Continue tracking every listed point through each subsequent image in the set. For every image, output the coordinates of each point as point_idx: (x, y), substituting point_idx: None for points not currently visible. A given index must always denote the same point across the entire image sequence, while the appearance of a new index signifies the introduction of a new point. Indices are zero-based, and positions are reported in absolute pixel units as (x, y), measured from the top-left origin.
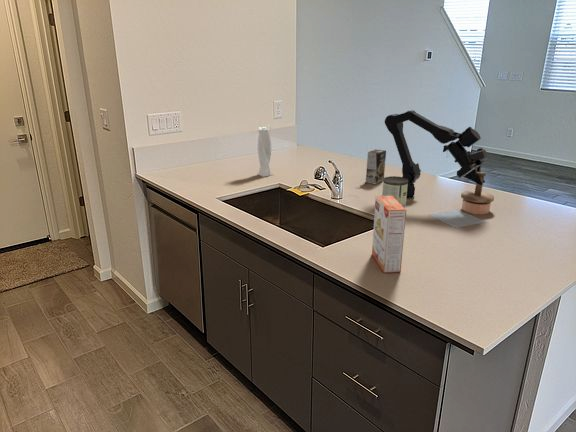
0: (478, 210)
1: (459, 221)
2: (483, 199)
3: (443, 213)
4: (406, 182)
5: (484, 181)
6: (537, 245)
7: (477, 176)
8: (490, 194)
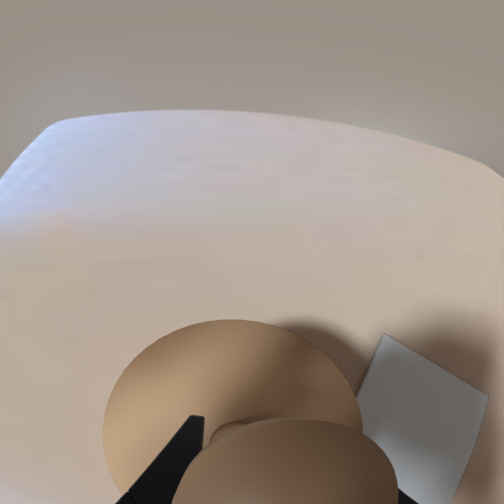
0: None
1: (443, 421)
2: (322, 379)
3: None
4: None
5: (203, 421)
6: (428, 184)
7: (411, 498)
8: (141, 355)
